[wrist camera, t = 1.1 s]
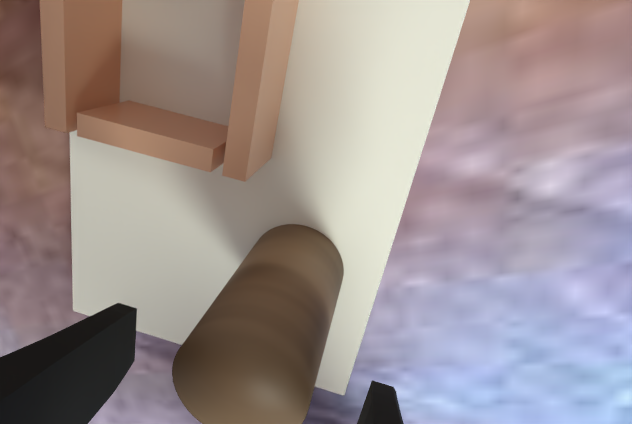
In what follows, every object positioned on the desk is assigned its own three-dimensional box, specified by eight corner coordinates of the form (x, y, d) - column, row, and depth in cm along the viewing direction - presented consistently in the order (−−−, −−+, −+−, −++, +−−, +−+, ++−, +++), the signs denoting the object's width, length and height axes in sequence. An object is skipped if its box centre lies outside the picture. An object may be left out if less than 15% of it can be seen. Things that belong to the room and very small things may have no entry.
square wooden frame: (271, 158, 17) (245, 181, 14) (100, 112, 18) (44, 127, 15) (308, -54, 14) (284, -74, 11) (103, -98, 15) (34, -128, 12)
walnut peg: (332, 318, 19) (294, 459, 13) (245, 293, 20) (167, 417, 13) (354, 239, 18) (323, 355, 11) (259, 212, 18) (178, 310, 12)
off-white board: (346, 380, 22) (343, 395, 21) (86, 299, 23) (72, 310, 22) (498, -99, 14) (504, -109, 13) (84, -182, 15) (63, -195, 14)
